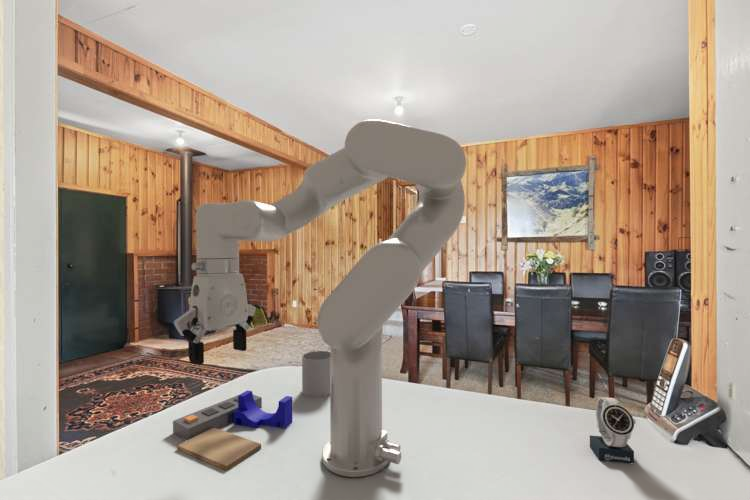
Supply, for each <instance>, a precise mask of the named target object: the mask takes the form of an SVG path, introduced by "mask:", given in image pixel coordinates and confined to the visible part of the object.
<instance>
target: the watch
mask: <svg viewBox="0 0 750 500" xmlns="http://www.w3.org/2000/svg"><path fill="white" fill-rule="evenodd" d="M595 417H596V423H597V424H596V426H597V428H598V432H599V433H600V435H601V436H599V435H589V448H590V449H591V451H592V452H593V454H594V455H595V457H596V459H597V460H598V461H601V462H611V463H619V462H620V463H621V462H622V463H621V464H630V463H634V464H635V451H634V449H632V447H631V446H630V445H629V444H628V442H629V440H630V439H631V436H632V432H633V431H634V428H635V425H636V424H637V421H636V419H635V418H633V416H632V414H631V412H630V411H629V410H627V409H626V407H625V406H624V404H623V403H621V402H620V401H619V399H617V398H615V397H606V396H604V397H603V396H600V397H598V398H597V401H596V411H595Z"/></svg>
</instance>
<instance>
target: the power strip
mask: <svg viewBox="0 0 750 500" xmlns="http://www.w3.org/2000/svg"><path fill="white" fill-rule="evenodd" d="M238 395H239V394H238ZM238 395H235V396H232V397H231V398H228V399H225V400H222V401H220V402H217V403H214V404H212V405H210V406H207V407H205V408H202V409H200V410H197V411H195V412H192V413H190V414H187V415H184V416H182V417H179V418H177V419H174V420H173V421H172V434H173V435H176V437H177V436H178V437H179V438H181V439H183V440H185V441H187V440H189V439H191V438H193V437H195V436H197V435H199V434H201V433H203V432H205V431H207V430H209V429H211V428H213V427H215V428H217V429H220V428H222V427H224V426H226V425H229V424H232V423H234V411H236V410H237V409H238ZM253 398H254V401H255V403H256V405H257V406H258V407H259V408H260V409H263V408H262V404H263V403H262V397H261V396H259V395H255V394H253Z"/></svg>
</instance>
